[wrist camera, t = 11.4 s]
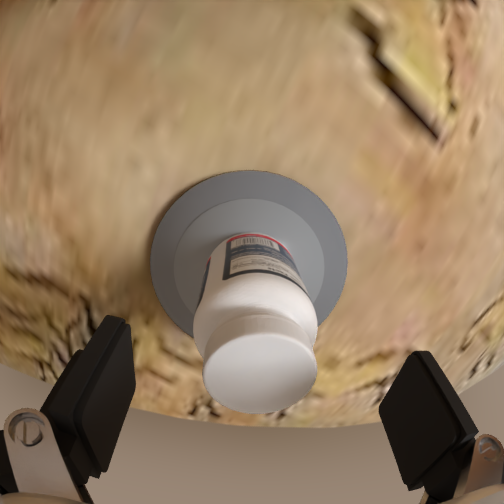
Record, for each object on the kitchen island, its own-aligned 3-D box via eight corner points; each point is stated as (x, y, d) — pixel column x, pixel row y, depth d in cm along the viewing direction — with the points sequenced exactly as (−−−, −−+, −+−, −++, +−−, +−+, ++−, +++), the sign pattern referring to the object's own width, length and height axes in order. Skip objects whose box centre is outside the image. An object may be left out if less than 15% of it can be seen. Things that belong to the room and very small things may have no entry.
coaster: (364, 191, 17) (369, 193, 17) (317, 354, 21) (319, 360, 21) (161, 157, 16) (157, 158, 16) (151, 334, 20) (149, 340, 20)
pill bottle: (248, 325, 20) (254, 440, 11) (187, 272, 18) (151, 377, 10) (313, 273, 18) (361, 374, 10) (253, 211, 17) (265, 284, 9)
